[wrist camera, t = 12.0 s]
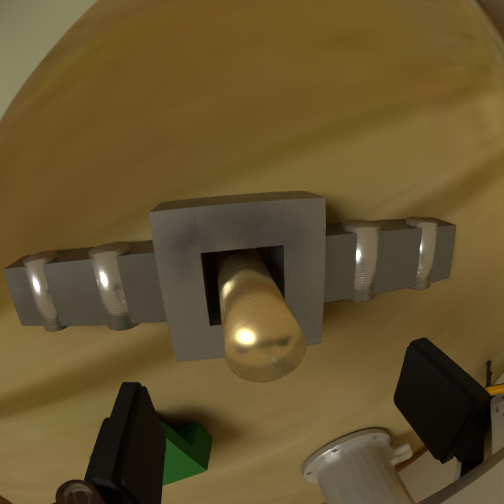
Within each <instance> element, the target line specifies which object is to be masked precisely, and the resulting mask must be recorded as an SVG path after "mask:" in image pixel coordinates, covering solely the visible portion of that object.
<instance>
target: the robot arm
mask: <svg viewBox="0 0 504 504" xmlns="http://www.w3.org/2000/svg"><path fill="white" fill-rule="evenodd" d="M490 395H491V394H490V393H489V392H487V391H486V390H485V389H484V388H483V387H482V386H481V385H480V384H479V383H478V382H476V381H475V380H474V379H473V378H472V377H471V376H470V375H469V374H467V373H466V372H465V371H464V370H463V369H462V368H461V367H460V366H458V365H457V364H456V363H455V362H454V361H453V360H452V359H450V358H449V357H448V356H447V355H446V354H445V353H443V352H442V351H441V350H440V349H439V348H438V347H436V346H435V345H434V344H433V343H432V342H430V341H429V340H428V339H427V338H420V339H417V340H414V341H412V342H411V343H410V345H409V346H408V347H407V350H406V354H405V358H404V362H403V366H402V370H401V374H400V377H399V381H398V384H397V388H396V391H395V394H394V403H395V405H396V407H397V408H398V409H399V411H400V412H401V413H402V415H403V416H404V417H405V419H406V420H407V421H408V423H409V424H410V425H411V427H412V428H413V429H414V431H415V432H416V433H417V435H418V436H419V437H420V439H421V440H422V442H423V443H424V444H425V446H426V447H427V448H428V450H429V451H430V453H431V454H432V455H433V457H434V458H435V459H437V460H440V462H441V463H442V464H444V463H446V462H447V461H449V460H450V459H452V458H453V457H454V456H455V457H456V458H457V464H456V471H455V477H454V482H453V483H451V484H450V485H448V486H447V487H445V488H443V489H442V490H440V491H438V492H437V493H435V494H433V495H431V496H429V497H428V498H426V499H424V500H422V501H420V502H418V503H415V502H414V500H413V498H412V497H411V495H410V493H409V491H408V490H407V488H406V486H405V485H404V483H403V482H402V480H401V478H400V476H399V474H398V473H397V471H396V469H395V468H394V465H395V464H397V463H399V462H402V461H405V460H407V459H409V458H411V457H412V450H411V449H410V445H409V443H408V442H406V443H403V444H401V445H399V446H398V447H395V448H393V447H391V446H390V443H391V438H390V436H389V434H388V433H387V432H386V431H385V430H382V429H366V430H362V431H358V432H355V433H352V434H349V435H346V436H344V437H341V438H339V439H337V440H335V441H333V442H331V443H330V444H328V445H326V446H324V447H323V448H321V449H320V450H318V451H317V452H316V453H314V454H313V455H312V456H311V457H310V458H309V459H308V460H307V461H306V462H305V464H304V465H303V468H302V474H303V477H304V479H305V480H306V481H307V482H309V483H312V484H319V486H320V489H321V492H322V494H323V497H324V500H325V502H326V504H504V393H500V394H497V395H495V396H494V397H493V398H492V400H491V402H490V401H489V400H488V399H489V397H490ZM165 453H166V436H165V434H164V431H163V429H162V427H161V424H160V422H159V419H158V417H157V414H156V412H155V409H154V406H153V404H152V401H151V398H150V396H149V393H148V390H147V388H146V387H145V386H141V384H140V383H139V382H123V383H122V385H121V387H120V390H119V393H118V396H117V398H116V401H115V404H114V407H113V410H112V413H111V416H110V418H105V419H104V421H103V423H102V425H101V428H100V431H99V434H98V437H97V440H96V443H95V446H94V449H93V452H92V455H91V459H90V462H89V465H88V468H87V472H86V475H85V478H84V481H83V480H79V479H73V480H69V481H66V482H65V483H63V484H62V485H61V486H60V487H59V488H58V489H57V492H56V496H55V500H56V502H55V503H53V504H161V498H162V485H163V473H164V463H165Z"/></svg>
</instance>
